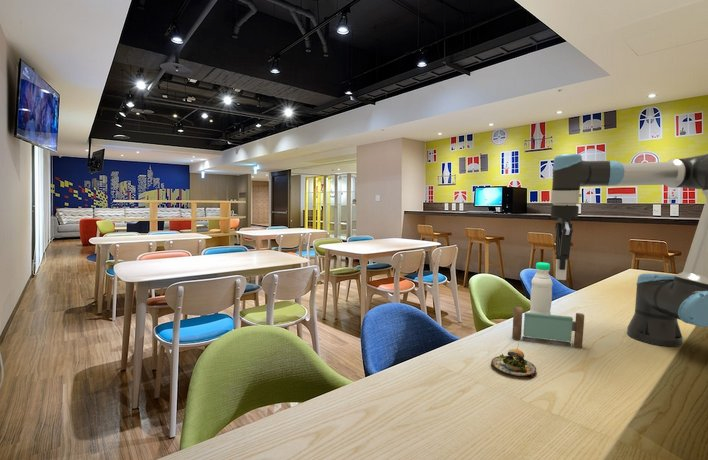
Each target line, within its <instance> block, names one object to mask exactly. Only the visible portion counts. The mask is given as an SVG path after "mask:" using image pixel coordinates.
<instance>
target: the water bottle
mask: <svg viewBox="0 0 708 460" xmlns="http://www.w3.org/2000/svg"><path fill="white" fill-rule="evenodd" d="M535 270H536V272H535V274H534V276H533V277H532V279H531V281H530V282H531V289H530V301H529V303H530V304H529V305H530V310H529V313H538V314H548V315H552V314H551V313H552V312H551V310H552V309H551V308H552V300H553V288H552V287H553V285H554V284H553V281H552V278H551V275H550V274H549V272H550V271H551V264H550V263H549V262H543V261H542V262H541V261H540V262H536V264H535Z"/></svg>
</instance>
